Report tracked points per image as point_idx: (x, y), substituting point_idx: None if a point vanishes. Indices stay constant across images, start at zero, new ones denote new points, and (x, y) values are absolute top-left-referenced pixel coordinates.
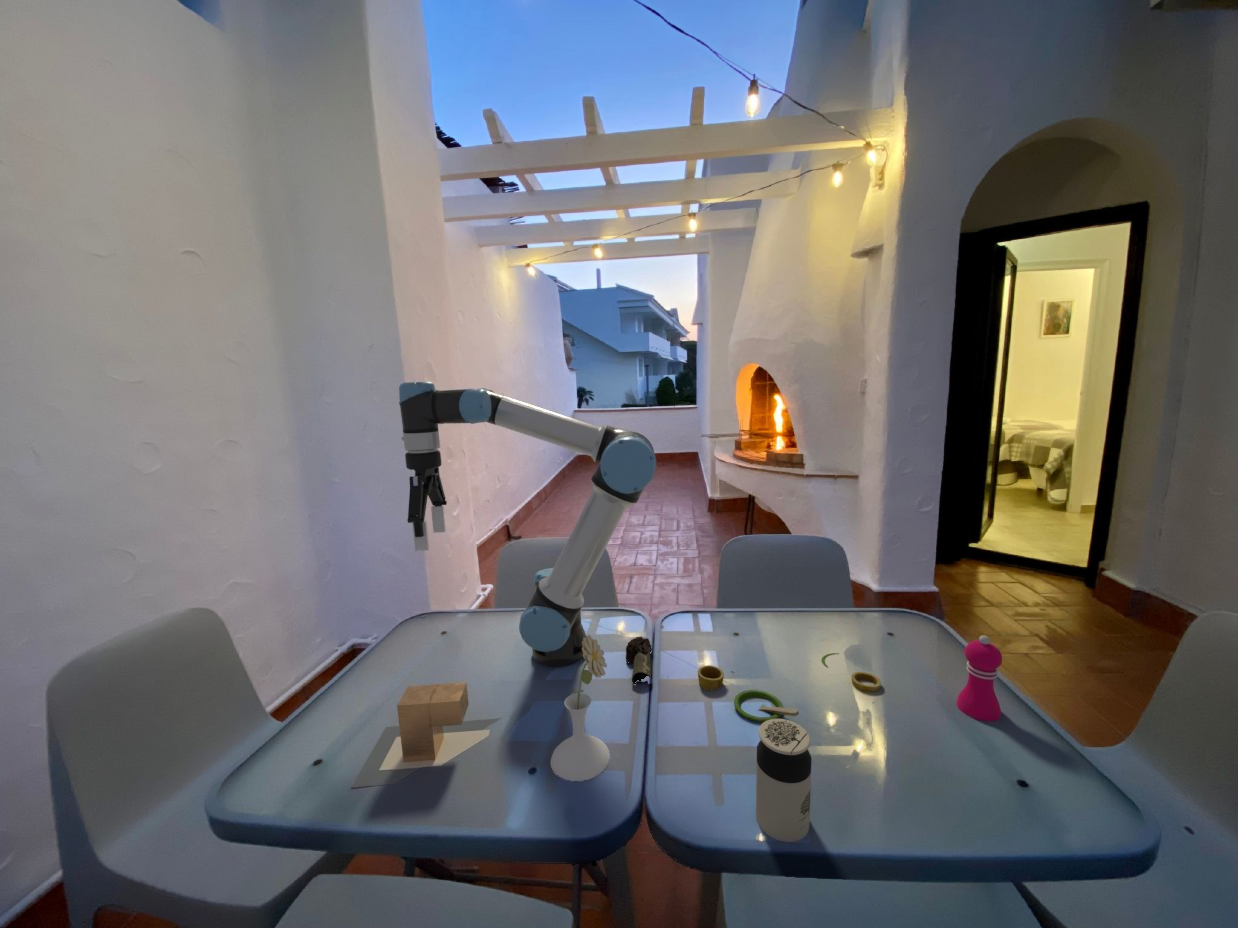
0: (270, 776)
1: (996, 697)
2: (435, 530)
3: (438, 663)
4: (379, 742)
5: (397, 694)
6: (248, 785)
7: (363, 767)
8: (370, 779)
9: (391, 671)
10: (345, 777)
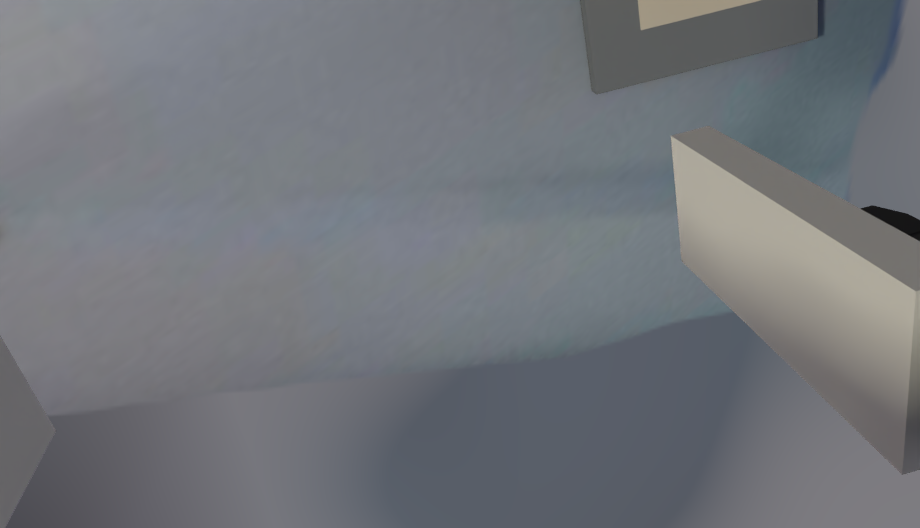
0: None
1: None
2: (34, 426)
3: (209, 131)
4: (661, 70)
5: (417, 169)
6: None
7: (752, 52)
8: (796, 2)
9: (295, 272)
10: (759, 88)
